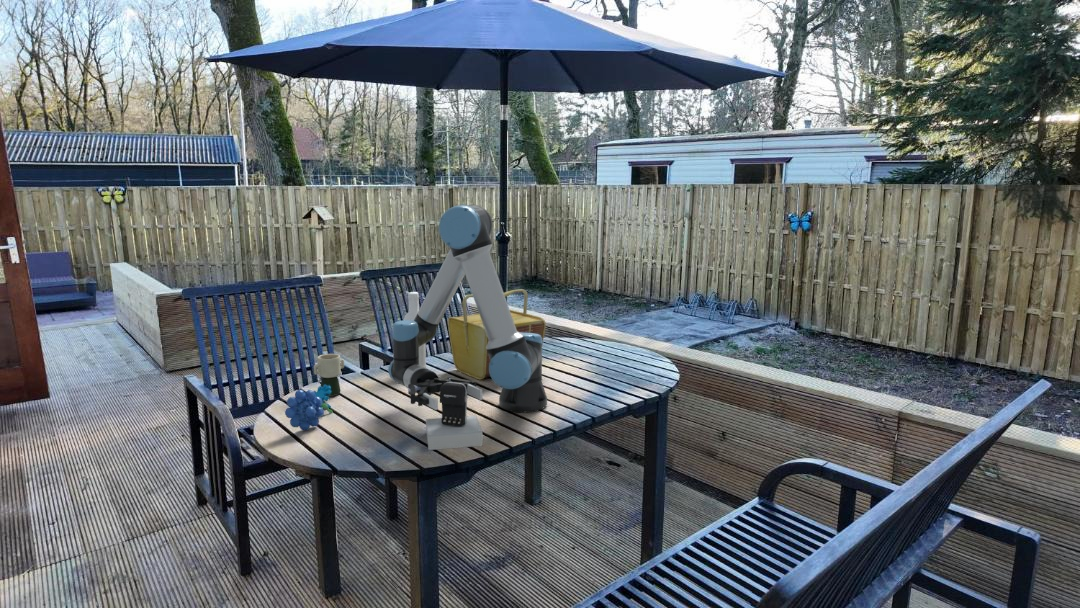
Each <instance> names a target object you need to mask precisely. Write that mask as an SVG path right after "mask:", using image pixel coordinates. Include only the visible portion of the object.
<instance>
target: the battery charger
mask: <svg viewBox="0 0 1080 608" xmlns="http://www.w3.org/2000/svg"><path fill="white" fill-rule="evenodd" d="M439 403H440V404H441V418H442V424H444V425H450V426H463V425H465V424H466V423H467V422H466V416H467V411H468V394H467V388H466V386H465V385H464V384H462V383H456V382H446V383H444V384H443V385H442V386H441V388H440V392H439Z"/></svg>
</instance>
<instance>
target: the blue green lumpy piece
mask: <svg viewBox="0 0 1080 608" xmlns="http://www.w3.org/2000/svg"><path fill="white" fill-rule="evenodd" d="M330 389H331V387H330V386H329V385H328V386H327V385H325V384H324V385H323V387H321V385H319V386H318V387H317V390H313V391H314V392H315V395H316V397H320V398H321V399H322V402H323V403H322V405H321V406H320V407H321V408H322V409H323V410H324V412H325V411H327V412H329V413H330V414H333V413H334V412H333V410H332V409H331V408H332V406H331V405H330V404H328V403H327V401H329V400H330V397H329V396H326V395H327V394H329V395H330V394H331V392H332V391H331V390H330ZM327 390H328V391H327ZM329 408H330V409H329Z"/></svg>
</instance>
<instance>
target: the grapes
mask: <svg viewBox="0 0 1080 608" xmlns="http://www.w3.org/2000/svg"><path fill="white" fill-rule="evenodd" d="M314 391H315V390H312V389H308V390H306V391H305V390H303V389H298V390H296V392H295V393H294V396H290V397H288V398H287V400H286V404H287V406H288V407H287V408H286V409H285V410H284V415H285V417H287V418H288V419H290V420H289V424H290V426H291V427H293V428H300V430H301V431H308V430H309V429H310V427H317V426H318V425H319V424H320V419H319V418H322V417H323V416H324V414H325V411H324V410H323V409H322V408H321V407H320V406H321V405H322V403H323V402H322V399H321V398H320V397H316V395H315V392H314Z"/></svg>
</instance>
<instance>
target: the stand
mask: <svg viewBox="0 0 1080 608" xmlns="http://www.w3.org/2000/svg"><path fill="white" fill-rule="evenodd" d="M466 422H467V423H466V424H465V425H463V426H450V425H444V424H442V417H438V418H437V417H436V418H426V419H425V430H426V431H425V432H426V433H425V434H426V441H427V448H428V451H431V450H433V451H434V450H444V449H457V448H458V449H459V448H468V447H469V448H472V447H482V446H483V430H482V427H481V423H480V421H479V418H478V416H477V415H469V416H468V415H466Z"/></svg>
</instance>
